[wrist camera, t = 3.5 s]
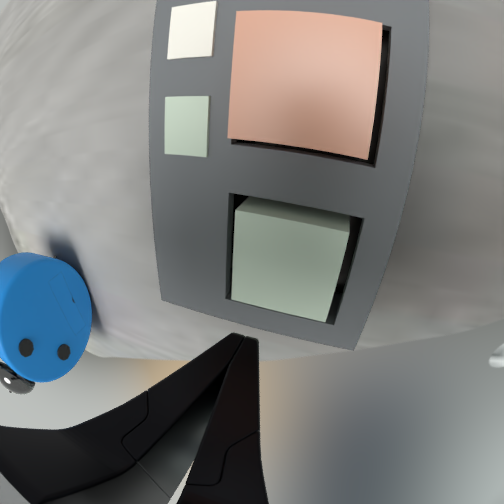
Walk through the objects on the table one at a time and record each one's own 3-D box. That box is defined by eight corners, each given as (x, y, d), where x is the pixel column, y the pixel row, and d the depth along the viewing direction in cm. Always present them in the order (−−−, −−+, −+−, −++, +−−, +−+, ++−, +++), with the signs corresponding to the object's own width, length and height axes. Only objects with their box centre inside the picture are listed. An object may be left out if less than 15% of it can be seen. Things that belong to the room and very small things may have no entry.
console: (404, -77, 6) (412, -109, 2) (355, 310, 20) (353, 352, 16) (207, -82, 9) (177, -107, 5) (188, 270, 23) (160, 301, 19)
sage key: (349, 207, 16) (349, 232, 13) (331, 286, 18) (325, 322, 15) (256, 189, 17) (235, 210, 14) (250, 268, 20) (231, 299, 17)
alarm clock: (44, 231, 28) (-53, 300, 15) (73, 235, 26) (-39, 319, 13) (77, 320, 34) (7, 393, 21) (108, 332, 32) (34, 418, 19)
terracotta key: (374, 42, 10) (382, 22, 7) (362, 147, 13) (367, 159, 10) (261, 30, 11) (236, 10, 8) (253, 130, 14) (227, 138, 11)
